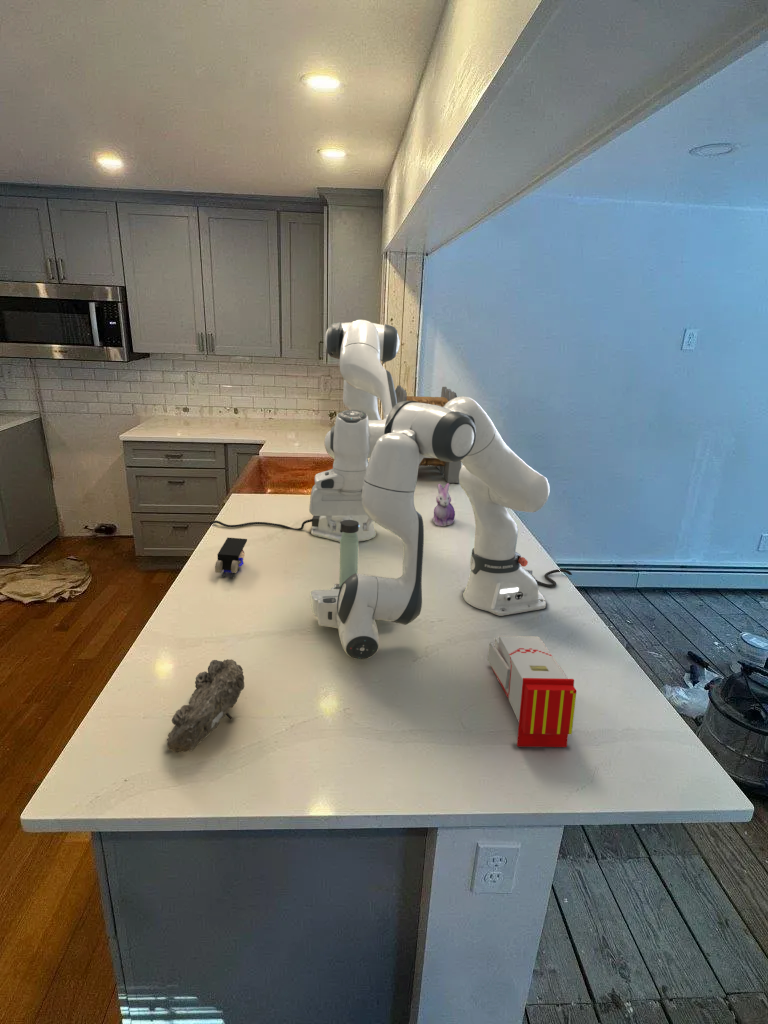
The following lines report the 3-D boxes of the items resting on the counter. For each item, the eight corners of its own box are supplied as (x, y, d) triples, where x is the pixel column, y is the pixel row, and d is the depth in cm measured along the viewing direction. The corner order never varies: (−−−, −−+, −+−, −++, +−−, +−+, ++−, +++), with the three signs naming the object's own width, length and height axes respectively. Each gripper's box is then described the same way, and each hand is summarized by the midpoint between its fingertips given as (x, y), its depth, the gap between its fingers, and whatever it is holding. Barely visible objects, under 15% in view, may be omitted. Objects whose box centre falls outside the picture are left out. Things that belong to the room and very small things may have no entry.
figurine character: (238, 584, 162) (249, 557, 175) (236, 562, 158) (247, 536, 172) (215, 584, 161) (227, 556, 175) (212, 561, 158) (225, 535, 171)
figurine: (440, 528, 206) (443, 489, 201) (425, 519, 214) (428, 481, 209) (461, 525, 210) (465, 486, 205) (446, 516, 219) (449, 478, 214)
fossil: (192, 660, 117) (244, 628, 112) (224, 691, 120) (276, 661, 115) (142, 746, 98) (202, 712, 93) (182, 779, 101) (242, 748, 96)
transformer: (382, 463, 289) (386, 382, 275) (445, 464, 293) (451, 384, 279) (390, 482, 257) (394, 392, 243) (460, 483, 261) (468, 394, 247)
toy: (536, 619, 129) (586, 686, 99) (531, 673, 131) (578, 754, 102) (483, 618, 128) (517, 685, 99) (479, 672, 131) (511, 753, 102)
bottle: (344, 599, 154) (345, 520, 146) (359, 603, 152) (362, 523, 144) (335, 606, 150) (337, 526, 142) (351, 611, 148) (353, 529, 140)
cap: (352, 534, 141) (352, 527, 140) (337, 530, 143) (337, 523, 142) (361, 529, 144) (362, 522, 144) (346, 525, 146) (346, 518, 146)
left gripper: (390, 474, 143) (388, 525, 148) (309, 474, 140) (309, 526, 145) (394, 481, 137) (391, 534, 142) (309, 482, 134) (309, 536, 139)
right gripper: (396, 598, 138) (386, 573, 150) (311, 602, 134) (309, 576, 147) (395, 621, 140) (385, 594, 153) (311, 625, 136) (309, 597, 149)
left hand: (349, 530), depth 143 cm, fingers open, 7 cm apart
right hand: (347, 585), depth 150 cm, fingers closed on bottle, 5 cm apart
